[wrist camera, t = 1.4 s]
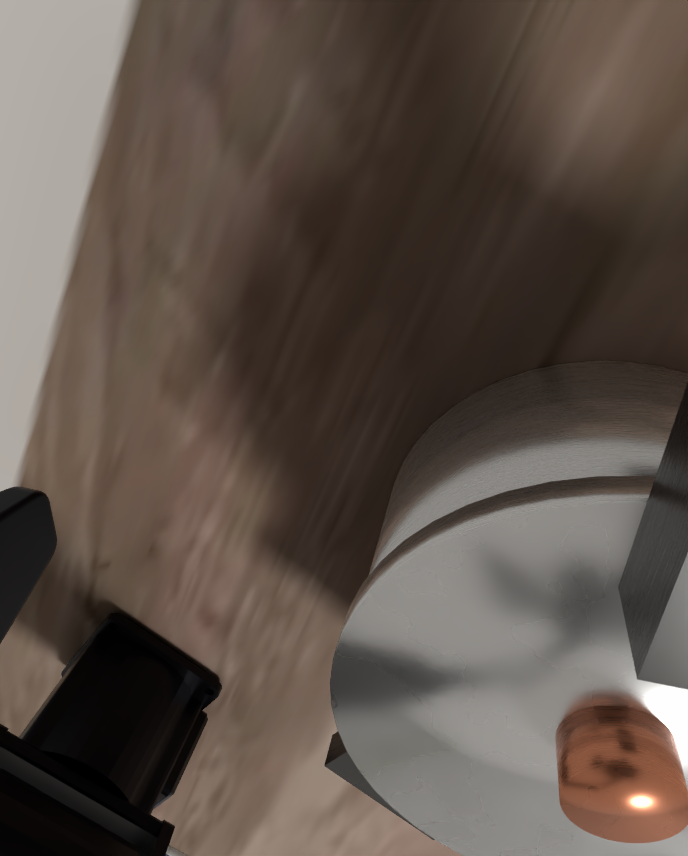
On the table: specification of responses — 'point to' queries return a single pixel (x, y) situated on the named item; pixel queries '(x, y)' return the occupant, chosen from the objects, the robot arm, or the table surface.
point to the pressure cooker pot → (527, 453)
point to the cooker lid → (531, 669)
